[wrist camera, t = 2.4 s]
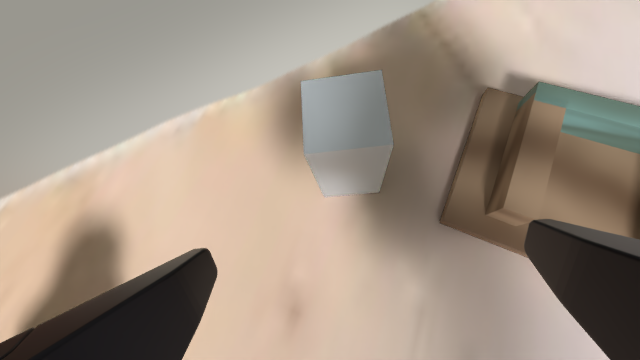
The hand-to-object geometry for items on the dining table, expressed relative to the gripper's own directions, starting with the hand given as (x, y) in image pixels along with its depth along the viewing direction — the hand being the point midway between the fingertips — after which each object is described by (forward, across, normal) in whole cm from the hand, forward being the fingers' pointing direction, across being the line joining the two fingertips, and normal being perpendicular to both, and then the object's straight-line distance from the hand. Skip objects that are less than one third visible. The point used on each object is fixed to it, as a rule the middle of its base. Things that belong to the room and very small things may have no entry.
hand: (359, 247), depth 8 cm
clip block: (+15, 0, -4) cm, 15 cm away
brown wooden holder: (+12, +16, -7) cm, 21 cm away
